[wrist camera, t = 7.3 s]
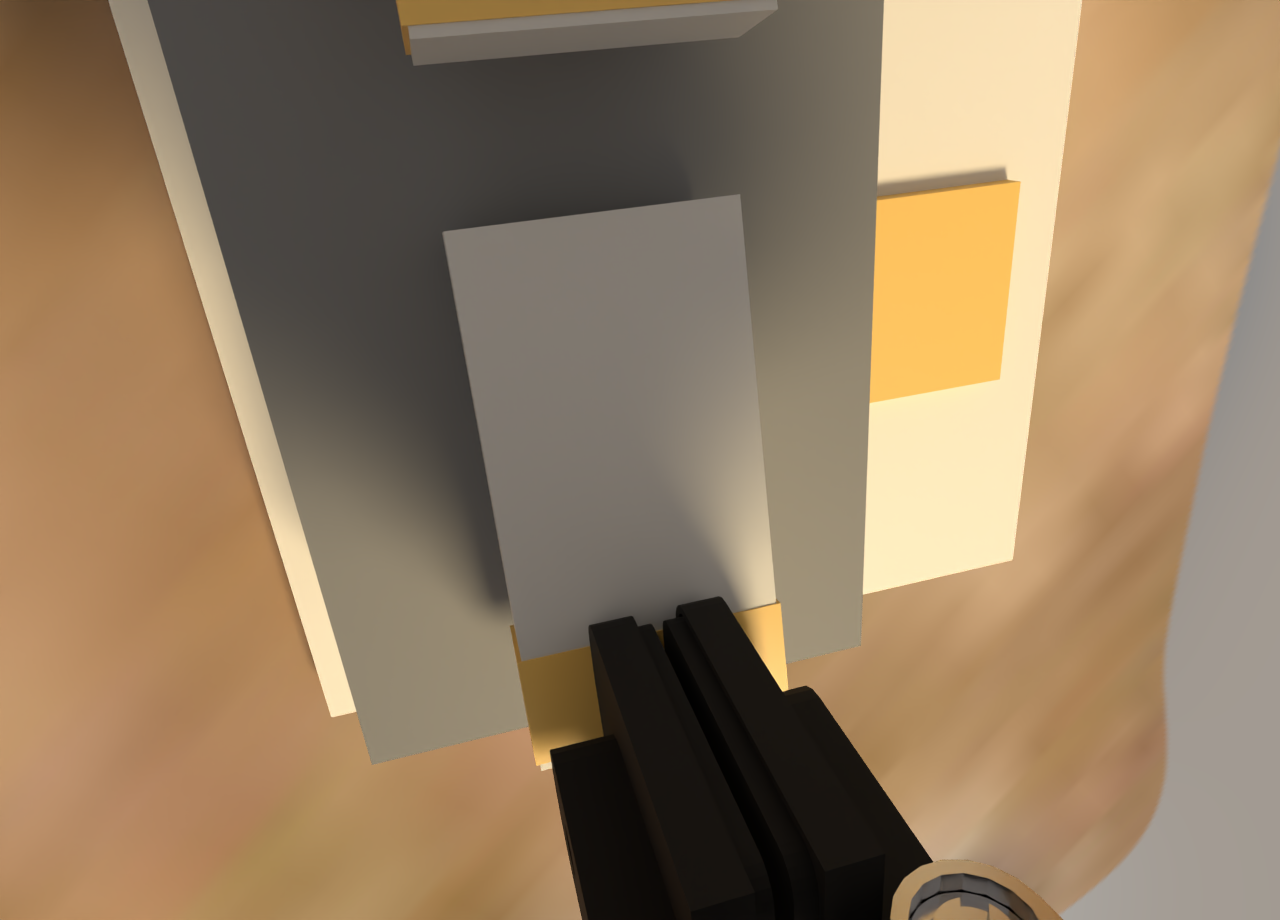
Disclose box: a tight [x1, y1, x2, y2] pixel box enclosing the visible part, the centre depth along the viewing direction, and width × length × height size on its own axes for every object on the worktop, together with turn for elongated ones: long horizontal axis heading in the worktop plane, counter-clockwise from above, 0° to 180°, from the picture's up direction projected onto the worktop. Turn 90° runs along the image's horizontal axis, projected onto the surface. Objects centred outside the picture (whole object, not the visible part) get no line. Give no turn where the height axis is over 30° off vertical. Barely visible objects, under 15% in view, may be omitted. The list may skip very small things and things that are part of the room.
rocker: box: [442, 194, 788, 771], centre depth 10 cm, size 6×3×1 cm, turn 5°
